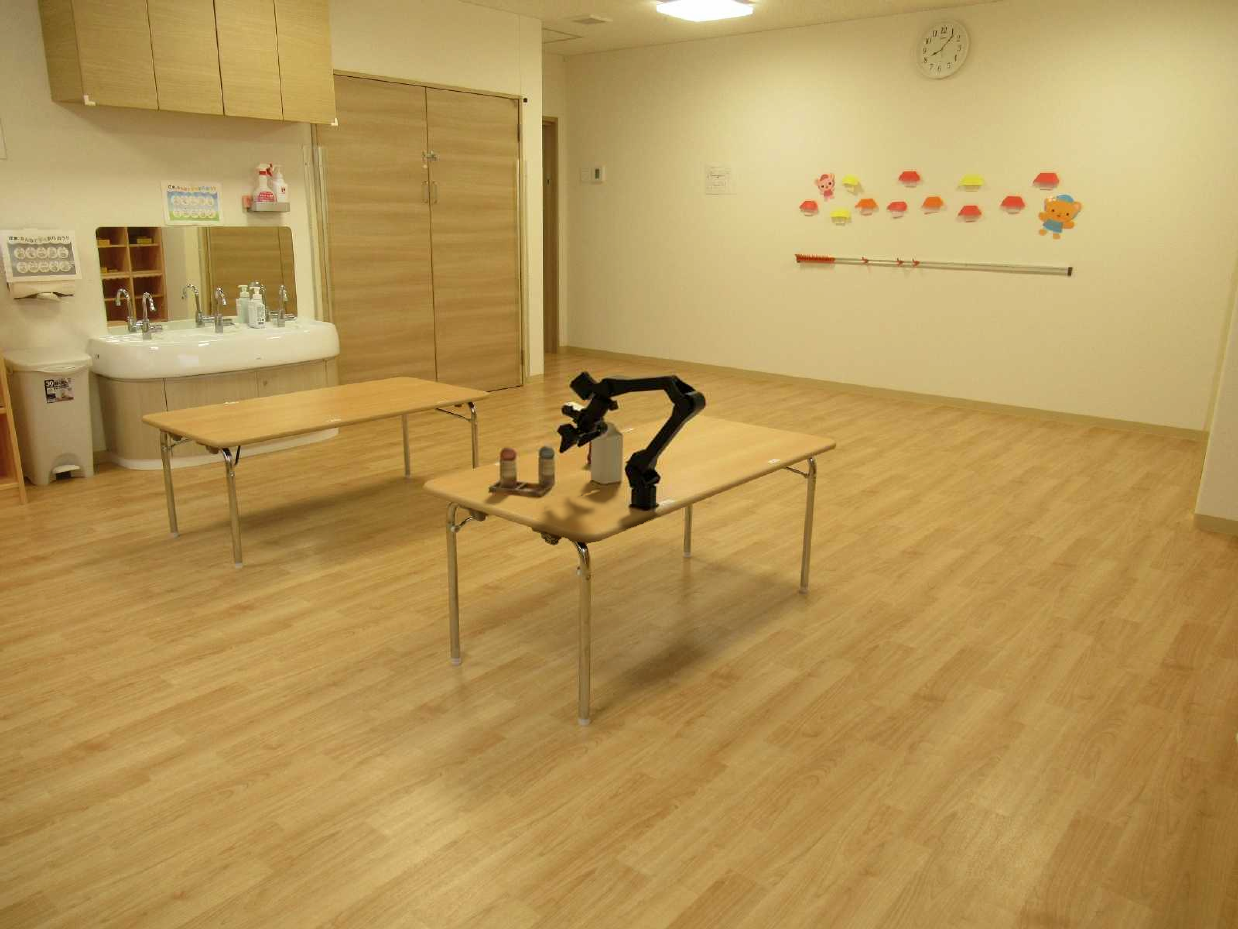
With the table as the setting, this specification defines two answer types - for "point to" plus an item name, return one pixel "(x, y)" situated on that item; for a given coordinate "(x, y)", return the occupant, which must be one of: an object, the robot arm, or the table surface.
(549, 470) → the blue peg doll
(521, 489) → the doll tray
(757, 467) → the table surface
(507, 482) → the red peg doll
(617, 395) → the robot arm
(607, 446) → the milk carton
